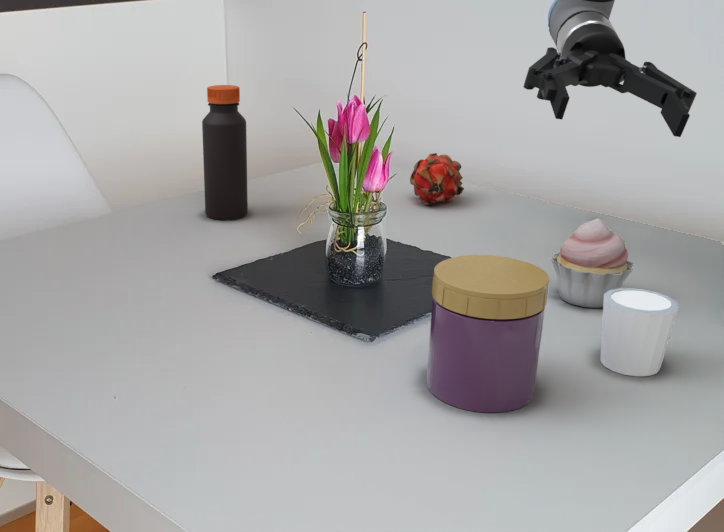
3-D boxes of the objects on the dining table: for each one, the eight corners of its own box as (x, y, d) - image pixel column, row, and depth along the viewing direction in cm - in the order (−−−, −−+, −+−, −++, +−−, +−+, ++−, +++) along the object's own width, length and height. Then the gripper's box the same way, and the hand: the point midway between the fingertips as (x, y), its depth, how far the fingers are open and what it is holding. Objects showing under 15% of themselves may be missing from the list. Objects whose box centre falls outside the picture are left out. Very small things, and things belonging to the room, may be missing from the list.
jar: (537, 372, 83) (551, 267, 79) (528, 420, 74) (543, 306, 70) (436, 357, 86) (444, 255, 82) (417, 401, 77) (424, 291, 73)
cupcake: (639, 296, 101) (653, 216, 97) (612, 320, 94) (626, 236, 91) (563, 279, 107) (574, 203, 103) (533, 300, 100) (543, 220, 96)
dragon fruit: (440, 199, 147) (436, 229, 137) (402, 171, 146) (396, 199, 136) (472, 164, 143) (471, 192, 133) (433, 134, 142) (429, 160, 132)
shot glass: (670, 358, 86) (683, 294, 83) (661, 385, 80) (674, 318, 77) (600, 343, 89) (610, 282, 86) (587, 369, 83) (597, 304, 81)
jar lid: (549, 285, 79) (552, 261, 78) (541, 326, 71) (545, 300, 70) (442, 272, 83) (444, 249, 82) (422, 310, 74) (424, 285, 73)
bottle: (196, 215, 133) (191, 87, 126) (224, 206, 138) (220, 82, 131) (229, 223, 130) (225, 91, 122) (256, 213, 135) (254, 86, 127)
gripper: (672, 90, 114) (718, 162, 98) (490, 63, 115) (504, 130, 99) (694, 36, 110) (746, 102, 93) (505, 9, 111) (522, 69, 94)
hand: (622, 117), depth 96 cm, fingers open, 13 cm apart
